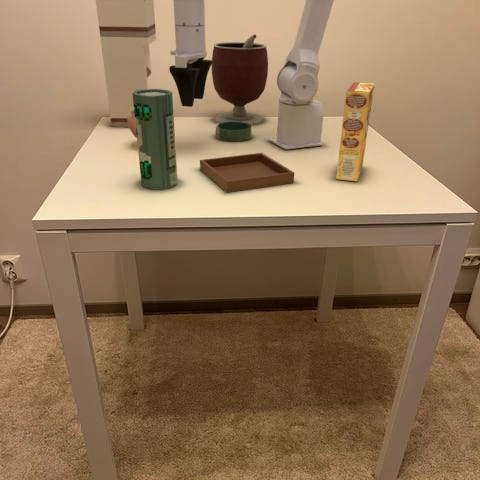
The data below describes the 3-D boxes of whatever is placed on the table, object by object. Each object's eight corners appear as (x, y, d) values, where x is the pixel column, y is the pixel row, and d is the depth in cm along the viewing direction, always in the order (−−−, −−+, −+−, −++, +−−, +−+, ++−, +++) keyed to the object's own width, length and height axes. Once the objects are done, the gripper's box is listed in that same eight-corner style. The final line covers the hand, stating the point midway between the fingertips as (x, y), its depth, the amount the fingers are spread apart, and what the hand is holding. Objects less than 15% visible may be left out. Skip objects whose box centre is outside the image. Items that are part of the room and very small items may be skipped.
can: (145, 177, 91) (137, 88, 82) (178, 178, 90) (173, 89, 82) (139, 189, 86) (129, 95, 77) (174, 190, 85) (168, 96, 77)
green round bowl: (242, 131, 119) (242, 120, 118) (257, 139, 113) (257, 128, 112) (211, 134, 116) (210, 123, 115) (224, 143, 110) (224, 131, 109)
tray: (261, 162, 99) (261, 152, 98) (293, 182, 89) (294, 172, 88) (200, 169, 95) (199, 159, 94) (226, 192, 85) (226, 181, 84)
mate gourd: (205, 116, 131) (203, 29, 120) (252, 112, 136) (254, 28, 124) (226, 130, 120) (226, 35, 108) (277, 125, 124) (282, 33, 113)
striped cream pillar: (155, 127, 120) (141, -52, 100) (111, 126, 120) (89, -53, 100) (161, 116, 130) (150, -49, 110) (121, 116, 130) (102, -50, 110)
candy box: (357, 182, 90) (371, 91, 81) (334, 179, 91) (346, 89, 82) (362, 168, 97) (376, 83, 88) (341, 165, 98) (352, 81, 89)
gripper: (180, 21, 100) (184, 94, 107) (156, 27, 88) (162, 108, 96) (214, 23, 99) (215, 96, 106) (195, 28, 87) (197, 110, 95)
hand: (192, 102), depth 101 cm, fingers open, 7 cm apart
